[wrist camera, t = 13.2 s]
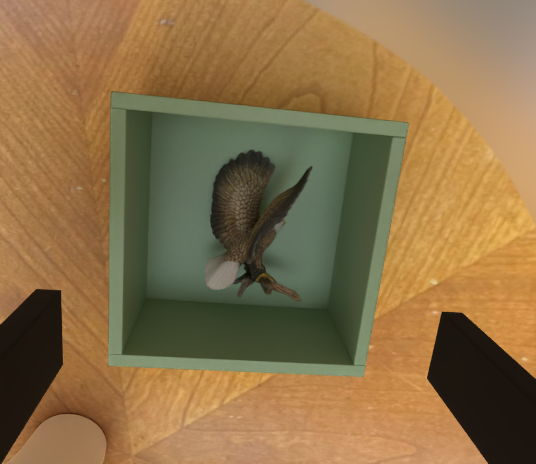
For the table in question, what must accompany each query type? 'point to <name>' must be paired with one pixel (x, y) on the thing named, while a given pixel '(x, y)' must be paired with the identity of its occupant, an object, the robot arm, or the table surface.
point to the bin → (274, 257)
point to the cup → (63, 442)
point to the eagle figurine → (247, 223)
